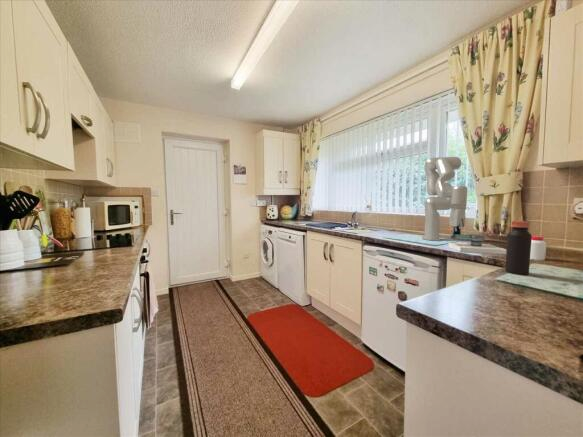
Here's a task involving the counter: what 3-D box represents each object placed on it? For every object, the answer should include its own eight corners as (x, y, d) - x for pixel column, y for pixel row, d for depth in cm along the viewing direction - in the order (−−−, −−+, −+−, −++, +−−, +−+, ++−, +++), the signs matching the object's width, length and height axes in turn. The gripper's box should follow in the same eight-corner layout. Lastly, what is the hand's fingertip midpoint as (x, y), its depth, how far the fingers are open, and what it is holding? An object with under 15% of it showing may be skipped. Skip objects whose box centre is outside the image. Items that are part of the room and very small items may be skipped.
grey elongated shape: (479, 244, 141) (480, 234, 141) (487, 246, 134) (488, 235, 134) (447, 243, 145) (448, 233, 145) (453, 245, 138) (453, 234, 137)
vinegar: (531, 273, 92) (535, 221, 91) (525, 276, 89) (529, 222, 87) (508, 269, 98) (511, 220, 97) (502, 271, 94) (505, 221, 93)
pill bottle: (540, 257, 121) (541, 236, 120) (548, 261, 114) (550, 238, 113) (520, 256, 124) (521, 235, 123) (527, 259, 117) (528, 236, 116)
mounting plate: (448, 246, 150) (448, 241, 150) (489, 248, 144) (490, 243, 144) (460, 251, 133) (460, 246, 133) (507, 254, 128) (507, 249, 127)
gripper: (446, 206, 150) (444, 235, 151) (457, 207, 135) (455, 239, 137) (459, 207, 148) (457, 236, 150) (472, 207, 134) (470, 240, 135)
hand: (456, 237), depth 143 cm, fingers closed
